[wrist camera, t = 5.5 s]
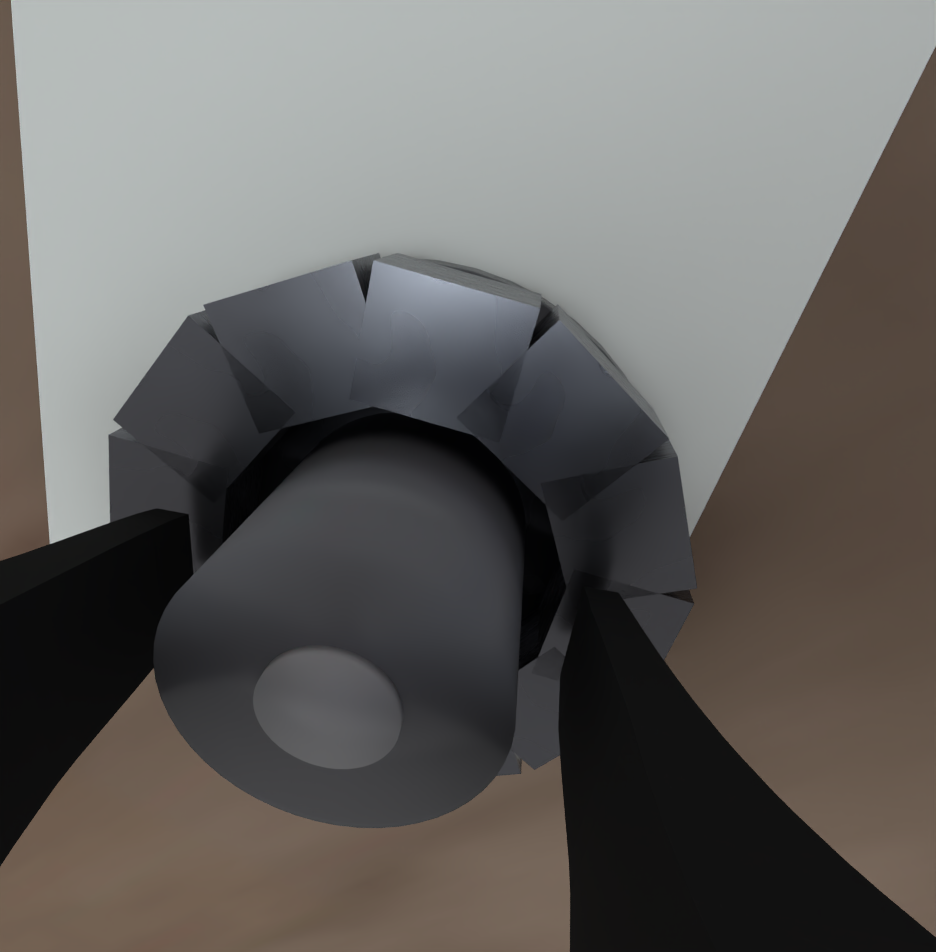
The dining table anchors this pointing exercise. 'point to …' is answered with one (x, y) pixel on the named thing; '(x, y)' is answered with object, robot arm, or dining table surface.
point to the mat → (448, 178)
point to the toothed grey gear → (432, 400)
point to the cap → (358, 630)
